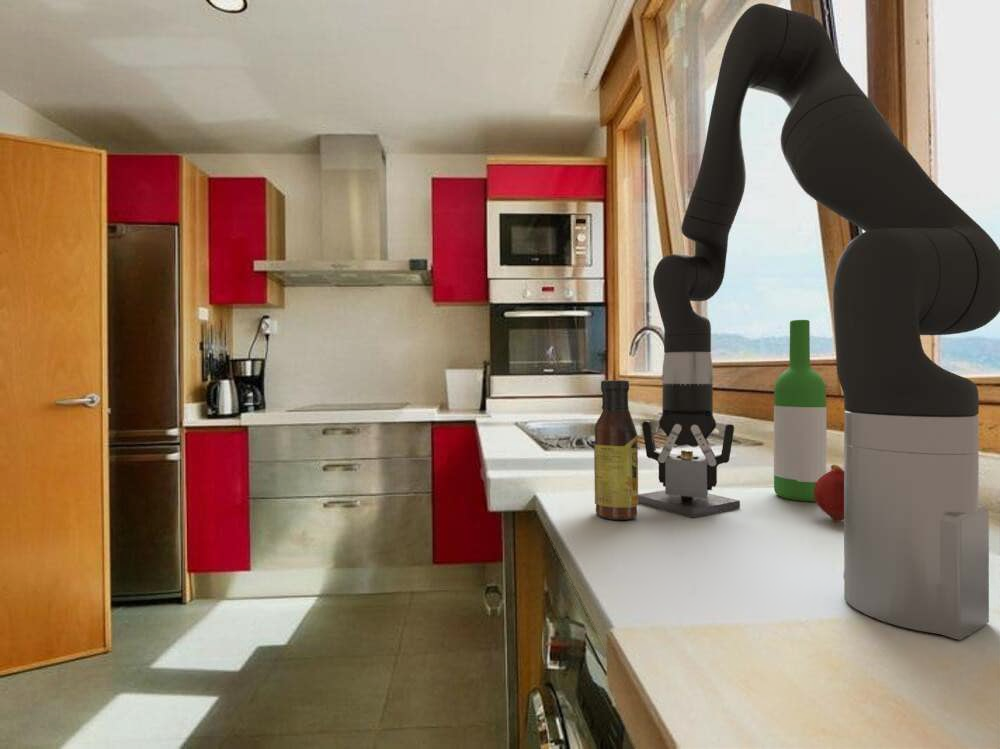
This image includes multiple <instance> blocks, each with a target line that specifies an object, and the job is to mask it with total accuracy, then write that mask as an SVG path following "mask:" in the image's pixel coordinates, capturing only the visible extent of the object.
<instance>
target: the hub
mask: <svg viewBox="0 0 1000 749" xmlns="http://www.w3.org/2000/svg"><path fill="white" fill-rule="evenodd" d="M680 455H681V459H693V455H694V451H693V450H690V449H688V450H687V449H683V450H680ZM638 504H641V505H645V506H649V507H652V508H655V509H659V510H662V511H666V512H669V513H673V514H677V515H681V516H684V517H688V518H691V519H694V518H698V517H699V518H700V517H703V516H708V515H714V514H718V513H724V512H728V511H733V510H738V509H740V508H741V500H738V499H735V498H730V497H725V496H722V495H717V494H712V493H709V492H708V495H707V498H700V497H689V496H678V495H667V494H665V489H664V490H659V491H651V492H645V493H638Z"/></svg>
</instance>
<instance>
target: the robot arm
mask: <svg viewBox="0 0 1000 749" xmlns="http://www.w3.org/2000/svg"><path fill="white" fill-rule="evenodd" d="M741 14H742V15H741V16H740V17H738V20H737V21H736V23H735V25H734V26H733V27H732V30H731V33H730V34H729V37H728V39H727V41H726V46H725V48H724V52H723V55H722V58H721V62H720V63H721V64H720V67H719V72H718V76H717V81H716V86H715V92H714V95H713V101H712V104H711V111H710V115H709V121H708V128H707V132H706V139H705V145H704V149H703V154H702V158H701V163H700V166H699V171H698V175H697V178H696V180H695V184H694V187H693V189H692V192H691V194H690V198H689V201H688V205H687V207H686V210H685V214H684V216H683V219H682V221H681V222H682V223H681V228H680V229H681V233H682V235H683V236H684V237H685V238H687V239H688V240H691V241H693V242H695V248H694V249H695V251H694V255H688V254H687V255H686V254H681V253H679V254H678V253H671V254H667V255H666V256H665V255H664V257H663V258H661V259H660V260H659V262H658V263H657V265H656V267H655V269H654V271H653V273H654V274H653V276H652V277H653V279H652V285H653V293H654V296H655V300H656V303H657V307H658V310H659V315H660V318H661V321H662V325H663V330H664V334H663V340H664V341H663V353H664V354H663V363H662V374H661V381H662V393H661V394H662V395H661V396H662V397H661V398H662V407H661V408H662V412H661V413H662V414H661V416H660V418H659V420H658V419H657V420H645V421H644V422H642V425H641V426H642V434H643V440H644V447H645V454H646V457H647V458H648V459H652V460H655V461H656V462H657V463H658V482H659V483H662V487H664V488H665V459H666V458H667V457H668V456H669V454H671V452H672V451H673V449H674V447H675V445H676V446H681V447H682V446H690V447H699V448H700V449H699V450H701V452H702V454H703V456H705V458H706V460H707V462H708V466H707V490H709V491H713V488H715V487H716V486H717V484H718V466H719V465H722V464H727V463H729V462H730V458H731V450H732V446H733V445H732V443H733V438H734V432H735V425H734V424H733V423H731V422H728V423H723V422H718V421H716V419H715V418H714V414H713V413H714V409H713V408H714V407H713V406H714V404H713V402H714V401H713V399H714V398H713V397H714V396H713V395H714V394H713V392H714V390H713V389H714V386H713V385H714V383H713V382H714V380H713V379H714V372H713V370H714V367H713V360H712V353H711V352H712V327H711V326H712V325H711V322H710V319H709V318H707V317H706V316H704V315H701V314H699V313H697V312H695V310H694V309H693V306H692V303H691V302H705V301H708V300H709V299H711V298H713V297H714V296H715V294H717V292H719V289H720V288H721V286H722V285H723V281H724V278H725V274H726V273H725V272H726V264H727V252H728V247H729V246H728V243H729V234H730V232H731V229H732V226H733V224H734V221H735V220H736V216H737V212H738V211H739V209H740V205H741V203H742V199H743V197H744V194H745V188H746V181H747V180H746V178H747V177H746V176H747V173H746V165H745V164H746V163H745V156H744V150H743V142H742V128H741V122H742V111H743V107H744V102H745V99H746V95H747V92H748V90H749V89H751V90H754V91H758V92H762V93H768V94H771V95H775V96H777V97H779V98H780V99H782V100H783V101H784V103H785V104H786V105H787V106H788V107H789V109H790V110H789V112H788V114H787V116H786V118H785V120H784V123H783V125H782V128H781V131H780V132H781V133H780V149H781V152H782V154H783V156H784V159H785V162H786V163H787V165H788V167H789V169H790V171H791V173H792V175H793V177H794V179H795V182H796V183H797V184H798V185H799V186H800V187H801V189H802V191H804V192H805V194H807V196H809V198H812V200H814V201H816V202H817V203H818V204H820V205H822V206H823V207H825V208H826V209H828V210H829V211H831V212H832V213H835V214H836V215H838V216H840V217H842V219H843V218H844V219H845V220H847V221H848V222H850V223H852V224H853V225H855V226H856V227H858V228H859V229H861V230H863V231H864V232H862V233H860V234H858V235H857V236H855V237H854V238H853V239H852V240H850V242H849V243H848V244H846V246H845V248H844V249H843V251H842V253H841V254H840V256H839V259H838V261H837V265H836V268H835V270H834V271H835V273H834V277H833V286H832V306H833V307H832V308H833V309H832V311H833V324H834V337H835V341H834V342H835V354H836V356H835V358H836V359H835V360H836V362H835V363H836V372H837V378H838V381H839V384H840V387H841V389H842V394H843V402H844V403H843V404H844V405H843V407H844V408H843V409H844V418H843V419H844V420H843V421H844V423H843V424H844V428H843V429H844V430H843V432H844V433H843V435H844V438H843V439H844V443H843V444H844V446H843V451H844V452H843V454H844V455H843V457H844V458H843V461H844V462H843V471H844V520H843V529H844V530H843V556H844V557H843V561H844V562H843V568H844V569H843V570H844V571H843V583H844V584H843V589H844V590H843V591H844V592H843V593H844V594H843V596H844V599H845V601H846V602H847V604H849V605H850V606H851V607H852V608H853V609H855V610H857V611H859V612H861V613H863V614H864V615H867V616H869V617H871V618H874V619H876V620H878V621H882V622H884V623H887V624H890V625H894V626H897V627H901V628H903V629H910V630H914V631H918V632H919V631H920V632H926V633H932V634H938V635H943V636H945V637H948V638H952V639H955V640H962V639H964V638H966V637H967V636H969V635H971V634H973V633H974V632H975V631H977V630H978V629H980V628H982V627H983V626H985V625H986V624H988V623H989V622H990V605H989V604H990V577H989V576H990V568H989V567H990V565H989V564H990V528H989V527H990V512H989V509H988V508H987V507H986V506H983V505H979V504H980V503H979V494H980V493H979V487H980V486H979V485H980V483H979V480H980V479H979V475H980V474H979V469H980V468H979V459H980V458H979V446H980V445H979V444H980V443H979V439H980V438H979V434H980V433H979V424H980V422H979V412H980V410H979V408H980V407H979V405H980V404H979V402H980V401H979V400H980V399H979V390H978V387H977V384H975V383H974V381H972V380H971V379H969V378H967V377H964V376H962V375H958V374H956V373H954V372H952V371H950V370H949V371H948V370H947V369H945V368H943V367H941V366H940V365H938V364H937V363H935V361H933V360H932V359H930V357H929V356H928V355H927V354H926V353H925V351H924V349H923V348H924V347H923V343H922V339H921V336H947V335H957V334H964V333H969V332H973V331H975V330H978V329H980V328H982V327H985V326H986V325H987V324H989V323H990V322H991V321H993V320H994V319H995V318H996V317H997V316H998V315H999V313H1000V248H999V246H998V244H997V243H996V242H995V240H993V238H992V237H991V235H989V233H988V232H986V230H984V228H983V227H982V226H980V225H979V224H978V223H977V222H976V221H975V220H974V219H973V218H972V217H971V216H970V215H969V214H968V213H967V212H966V211H965V210H963V209H962V208H961V207H960V206H959V205H958V204H957V203H955V201H953V199H951V198H950V197H949V196H948V195H947V194H945V192H944V191H943V190H942V189H941V188H940V187H939V186H938V185H937V184H936V183H935V182H934V181H933V179H931V177H930V176H929V175H928V174H927V173H926V172H925V170H924V169H923V168H922V166H921V165H920V163H919V162H918V161H917V160H916V158H915V157H914V156H913V155H912V154H911V153H910V151H909V150H908V149H907V147H906V146H904V144H903V143H902V142H901V141H900V139H899V137H898V136H897V135H896V134H895V132H894V131H893V129H892V128H891V126H890V125H889V123H888V121H887V120H886V118H885V117H884V116H883V115H882V113H881V112H880V110H879V109H878V108H877V106H876V105H875V104H874V103H873V101H872V100H871V98H870V97H868V95H867V94H865V92H864V91H863V90H862V89H861V87H860V86H859V85H858V83H857V82H856V81H855V79H854V78H853V77H852V76H851V74H850V73H849V72H848V70H847V69H846V68H845V67H844V66H843V64H842V62H841V60H840V58H839V56H838V53H837V51H836V49H835V47H834V45H833V42H832V40H831V38H830V36H829V34H828V32H827V30H826V28H825V26H824V25H823V24H822V22H820V21H819V20H818V19H817V18H816V17H814V16H812V15H810V14H809V15H808V14H806V13H802V12H798V11H795V10H792V9H791V10H790V9H787V8H784V7H781V6H777V5H773V4H769V3H757V4H753V5H752V6H750V7H748V8H747V9H746V10H745V11H744V12H743V13H741ZM658 428H661V430H662V431H663V432H664V434H665V435H666V436H667V439H666V441H665V443H664V445H663V448H662V450H661V451H657V449H656V442H655V434H656V433H657V432H658ZM715 429H716V430H717V431H718V434H719V437H721V438H723V442H722V449H721V453H720V454H718V455H716V454H715V452H714V451H713V449H712V446H711V444H710V442H709V440H708V438H709V437H710V435H711V434H712V432H713V431H714V430H715Z"/></svg>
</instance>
